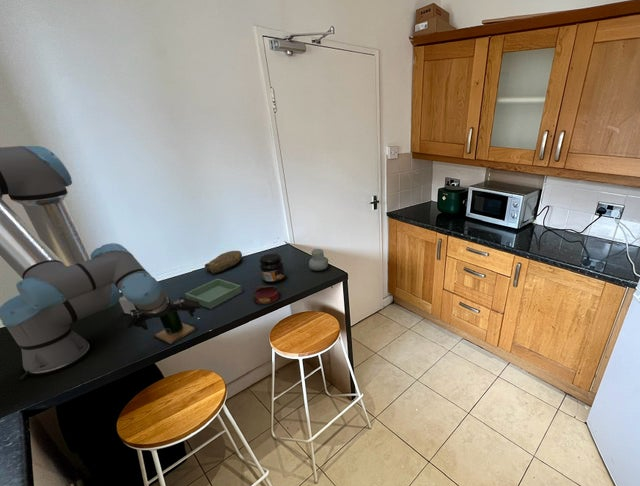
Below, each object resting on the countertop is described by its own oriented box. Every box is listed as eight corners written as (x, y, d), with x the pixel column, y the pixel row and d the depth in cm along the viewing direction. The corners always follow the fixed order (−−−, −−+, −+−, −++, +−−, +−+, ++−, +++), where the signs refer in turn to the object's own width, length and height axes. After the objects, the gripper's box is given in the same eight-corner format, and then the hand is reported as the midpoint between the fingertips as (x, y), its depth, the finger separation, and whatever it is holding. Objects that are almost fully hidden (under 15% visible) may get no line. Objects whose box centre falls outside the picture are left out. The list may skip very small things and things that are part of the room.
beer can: (178, 335, 112) (167, 307, 107) (163, 336, 112) (151, 308, 107) (186, 326, 117) (176, 299, 112) (172, 326, 117) (161, 299, 112)
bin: (210, 309, 130) (208, 302, 128) (187, 300, 136) (184, 293, 134) (242, 291, 142) (240, 285, 141) (219, 284, 148) (217, 278, 147)
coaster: (170, 344, 110) (169, 341, 109) (155, 336, 113) (154, 334, 113) (195, 329, 117) (194, 327, 117) (180, 323, 121) (179, 321, 120)
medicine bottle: (138, 315, 125) (127, 289, 120) (124, 313, 126) (112, 287, 121) (154, 306, 131) (144, 281, 126) (140, 304, 133) (130, 279, 127)
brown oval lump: (217, 278, 156) (251, 257, 169) (208, 265, 152) (244, 245, 165) (206, 275, 164) (239, 255, 177) (198, 263, 160) (232, 243, 173)
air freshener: (325, 273, 159) (322, 255, 154) (308, 273, 159) (306, 255, 154) (329, 264, 169) (327, 246, 164) (314, 263, 169) (312, 246, 164)
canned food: (256, 309, 137) (243, 291, 135) (274, 297, 145) (261, 279, 142) (269, 306, 130) (255, 286, 128) (287, 293, 138) (274, 274, 135)
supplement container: (267, 286, 146) (262, 263, 141) (260, 278, 153) (255, 256, 148) (289, 280, 152) (285, 257, 147) (281, 272, 159) (277, 250, 154)
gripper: (101, 328, 86) (127, 342, 104) (205, 301, 98) (212, 317, 116) (96, 303, 87) (122, 321, 105) (198, 279, 100) (206, 299, 118)
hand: (169, 319), depth 111 cm, fingers open, 13 cm apart
